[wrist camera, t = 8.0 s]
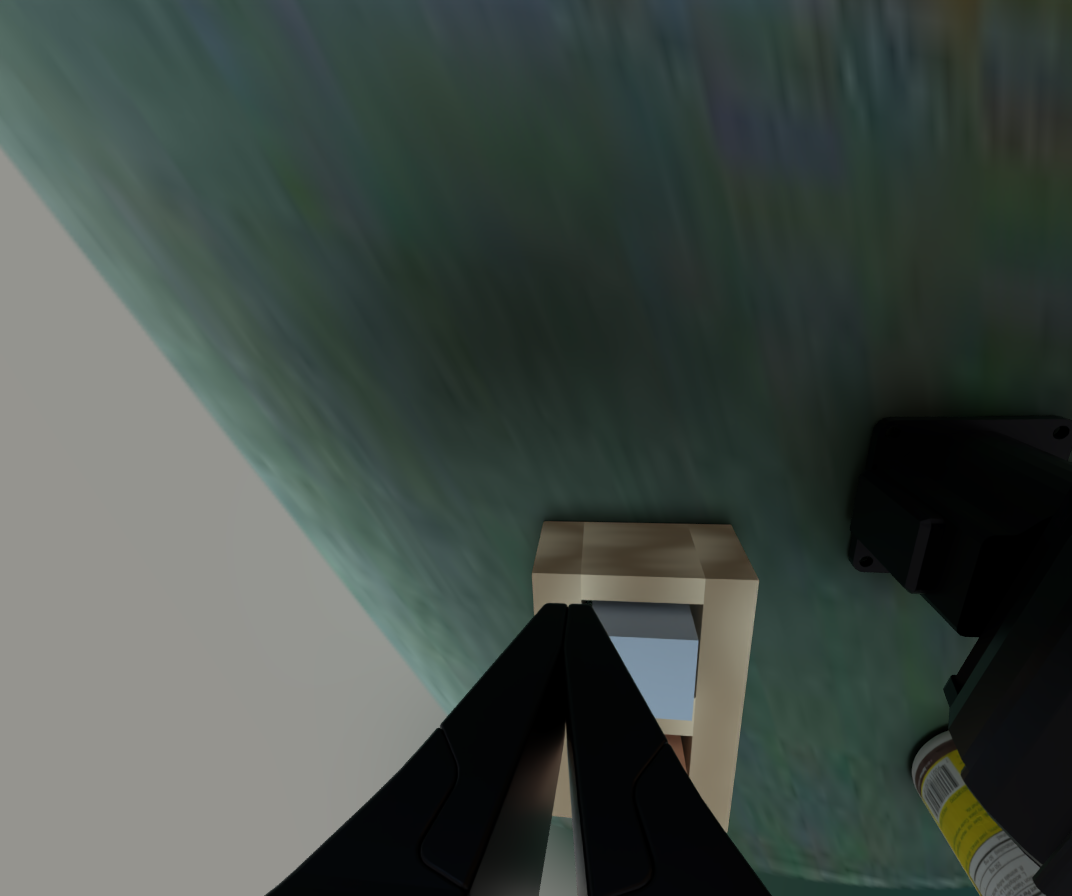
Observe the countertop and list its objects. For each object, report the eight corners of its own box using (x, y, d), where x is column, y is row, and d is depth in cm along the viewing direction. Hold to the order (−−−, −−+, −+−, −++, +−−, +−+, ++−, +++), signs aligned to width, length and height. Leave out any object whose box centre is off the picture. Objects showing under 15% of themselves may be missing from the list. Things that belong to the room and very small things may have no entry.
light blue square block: (685, 589, 19) (698, 640, 17) (680, 663, 21) (692, 720, 18) (592, 586, 20) (591, 635, 17) (593, 658, 21) (592, 714, 18)
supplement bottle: (1049, 786, 24) (1353, 1137, 14) (924, 812, 25) (1122, 1146, 16) (1020, 702, 22) (1334, 1028, 13) (889, 736, 24) (1083, 1050, 14)
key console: (731, 524, 21) (759, 580, 17) (708, 749, 25) (727, 832, 22) (543, 521, 22) (531, 572, 18) (553, 737, 26) (545, 815, 23)
